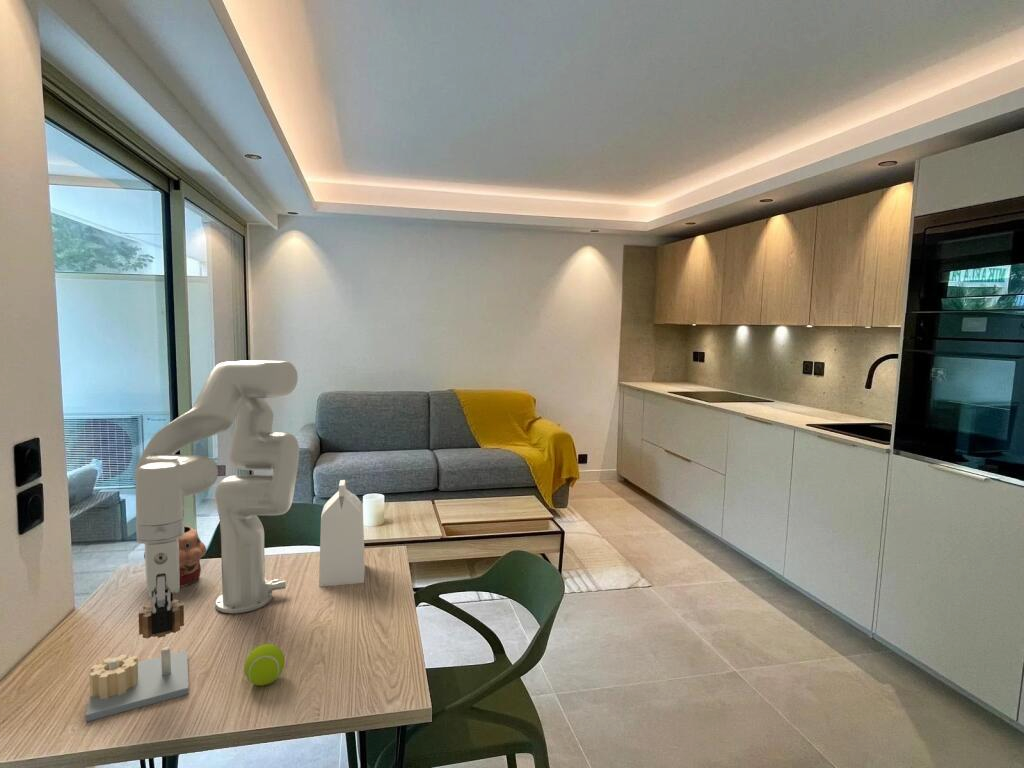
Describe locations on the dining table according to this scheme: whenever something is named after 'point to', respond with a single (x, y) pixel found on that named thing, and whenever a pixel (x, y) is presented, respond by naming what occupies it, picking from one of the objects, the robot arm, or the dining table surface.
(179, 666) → the gear board
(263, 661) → the tennis ball
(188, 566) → the decorative planter
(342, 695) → the dining table surface
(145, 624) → the walnut gear
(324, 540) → the milk
